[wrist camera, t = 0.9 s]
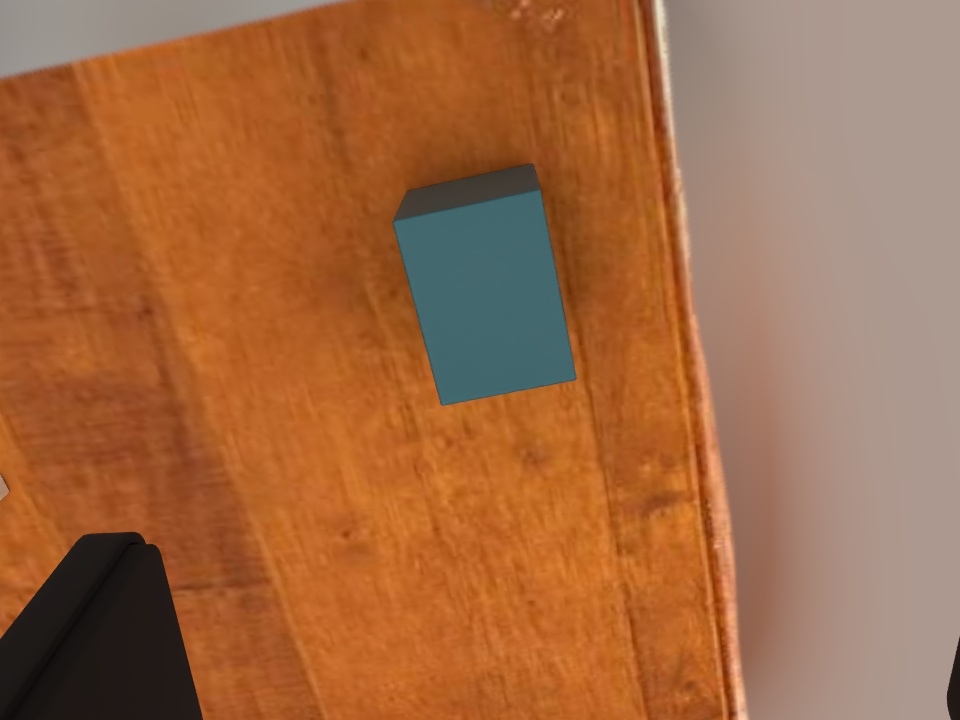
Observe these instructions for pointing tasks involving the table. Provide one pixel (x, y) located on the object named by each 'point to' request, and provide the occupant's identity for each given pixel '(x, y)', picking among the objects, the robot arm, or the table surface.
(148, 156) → the table surface
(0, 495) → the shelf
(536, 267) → the box
